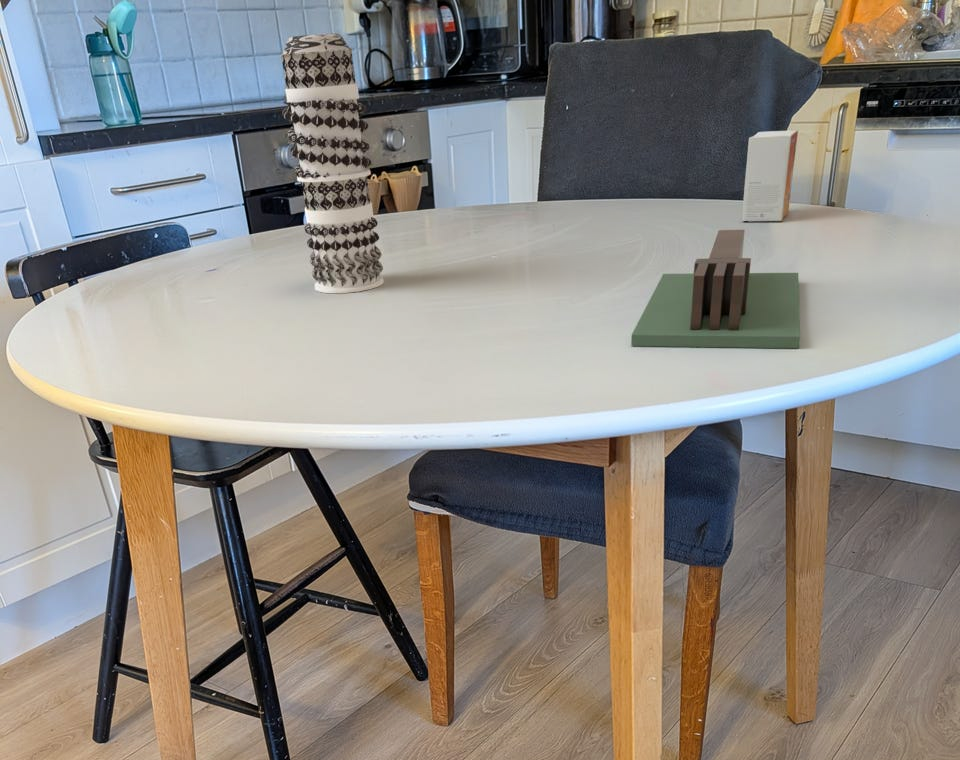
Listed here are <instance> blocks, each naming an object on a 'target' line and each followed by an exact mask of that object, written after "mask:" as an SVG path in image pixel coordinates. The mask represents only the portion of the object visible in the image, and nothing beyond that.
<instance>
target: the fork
mask: <svg viewBox="0 0 960 760" xmlns="http://www.w3.org/2000/svg"><path fill="white" fill-rule="evenodd" d="M744 241H745V229H719V230H718V232H717V234H716V237H715V240H714V243H713V246H712V249H711V252H710V254H709V257H708V258H696V259H695V262H694V265H693V274H694V278H693V293H692V309H691V324H690V330H700V329H701V326H702V323H703V319H704V316H705V315H710V322H709V330H719V329H720V325H721V321H722V316H723V315H729V323H728V330H739V325H740V319H741V315H745V313H746V304H747V294H748V284H749V274H750V273H751V263H752V258H751V257H743V252H744V243H745V242H744Z"/></svg>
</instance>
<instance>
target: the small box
mask: <svg viewBox="0 0 960 760" xmlns="http://www.w3.org/2000/svg"><path fill="white" fill-rule="evenodd" d="M798 133H799V131H798V130H796V129H795V130H792V129H791V130H769V131H768V130H767V131H758V132H757V133H755V134H754V135H753V136H750V137H748V144H747V154H746V156H747V157H746V168H745V179H744V188H743V199H742V201H743V203H742V213H741V214H742V215H741V221H742V222H743V221H748V222H781V221H783V220H784V218H785V217H786V215H787V214H789V211H790V201H791V192H792V185H793V174H794V168H795V167H794V166H795V159H796V152H797V143H798Z"/></svg>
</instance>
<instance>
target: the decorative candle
mask: <svg viewBox="0 0 960 760" xmlns="http://www.w3.org/2000/svg"><path fill="white" fill-rule="evenodd" d="M279 57H281V61H282V68H283V75H284V80H285V87H286V88H285V89H284V91H285V97H286V100H285V101H282V102H283V104H285V105H286V107H285V108H284V109H283V110H282V113H281V114H282V117H283V119H285V120H286V121H288V122H290V123H291V122H292V123H293V124H292V126H291V127H290V128H289V130H288V131H287V133H286V136H287V138H288V140H290V141H291V142H292V143H293V145H291V147H290V148H289V152H290V155H291V156H292V157H293V158H296V160H299V163H297V165H296V167H295V168H294V169H293V170H294V173H295V175H296V181H297V182H299V183H300V182H301V186H302V193H303V199H304V205H305V207H304V214H305V215H304V216H305V220H306V223H307V224H306V225H305V226H304V232H305V233H306V234H307V235H309V236H310V238H308V240H307V241H306V244H307V247H308V248H309V249H312V253H311V254H310V255H309V259H308V260H309V263H310V264H311V266H312V267H313V268H312V270H311V276H312V277H313V279H314V280H315V281H316V282H315V283H314V290H315V291H316V292H318V293H325V294H349V293H358V292H364V291H369V290H372V289H375V288H378V287H380V286H382V285H383V284H384V283H385V280H384V277H383V276H382V275H380V274H381V273H382V272H383V270H384V267H383V264H382V262H381V261H379V260H380V259H381V257H382V252H381V249H380V248H379V247H378V246H376V242H378V241H379V240H380V235H379V234H378V233H377V231H374V229H375V228H377V227H378V221H377V219H376V218H375V217H374V209H373V202H372V201H371V196H370V189H369V182H368V176H370V175H371V174H372V172H371V170H370V168H368V167H370V166H371V165H372V160H371V159H370V158H368V157H367V156H366V155H364V154H365V153H367V152H368V151H369V150H370V144H369V143H368V142H367V141H365V140H364V139H363V138H362V135H363V134H364V133H365V132H366V131H367V130H368V128H369V124H368V123H367V122H366V121H365V120H363V119H362V117H363V116H364V115H365V114H366V113H367V107H366V106H365V105H364V104H362V103H361V102H360V100H358V99H360V94H359V87H358V85H359V84H358V83H357V82H356V75H355V66H354V60H353V49H352V48H350V47H349V45H348V44H347V42H346V40H345V39H344V37H343V36H342V35H340V34H339V33H320V34H319V33H317V34H306V35H296V36H290V37H288V39H287V40H286V43H285V46H284V50H283V52H282V54H280V55H279Z"/></svg>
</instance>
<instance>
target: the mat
mask: <svg viewBox="0 0 960 760" xmlns="http://www.w3.org/2000/svg"><path fill="white" fill-rule="evenodd" d="M693 278H694V273H662V275H661V277H660V279H659V282H658V283H657V285H656V287H655V289H654V290H653V292H652V295H651V296H650V299H649V300H648V302H647V305H646V306H645V308H644V310H643V312H642V314H641V316H640V318H639V319H638V321H637V323H636V325H635V328H634V329H633V331H632V333H631V339H630V340H631V342H630V343H631V347H665V348H667V347H668V348H669V347H670V348H671V347H673V348H675V347H677V348H736V349H737V348H743V349H747V348H748V349H750V348H751V349H799V348H800V341H801V320H800V319H801V317H800V286H799V285H800V284H799V283H800V282H799V281H800V280H799V272H750V274H749V284H748V294H747V304H746V313H745V315H741V319H740V325H739V330H728V323H729V315H723V316H722V321H721V325H720V329H719V330H709V322H710V315H705V316H704V319H703V323H702V326H701V329H700V330H690V324H691V309H692V293H693Z"/></svg>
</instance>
